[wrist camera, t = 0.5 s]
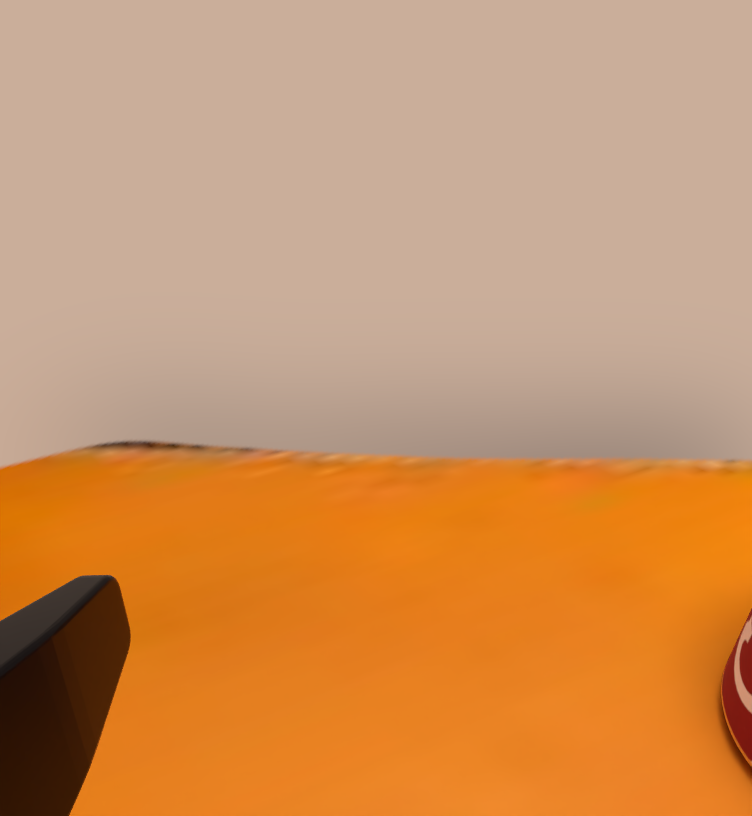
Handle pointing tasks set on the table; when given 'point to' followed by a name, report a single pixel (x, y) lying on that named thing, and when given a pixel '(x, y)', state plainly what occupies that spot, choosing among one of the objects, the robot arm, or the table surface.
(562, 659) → the table surface
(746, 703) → the soda can
